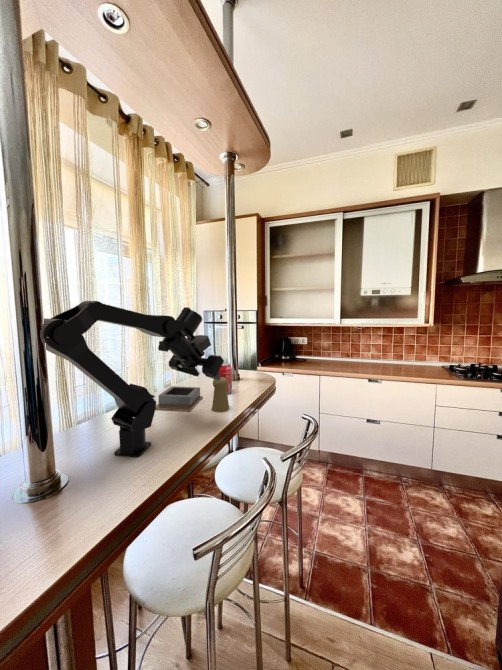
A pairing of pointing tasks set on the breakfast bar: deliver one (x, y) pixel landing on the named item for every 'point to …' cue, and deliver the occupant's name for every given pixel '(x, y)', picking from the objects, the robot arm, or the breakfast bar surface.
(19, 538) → the breakfast bar surface
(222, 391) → the olive pawn
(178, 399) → the square holder
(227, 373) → the soda can
